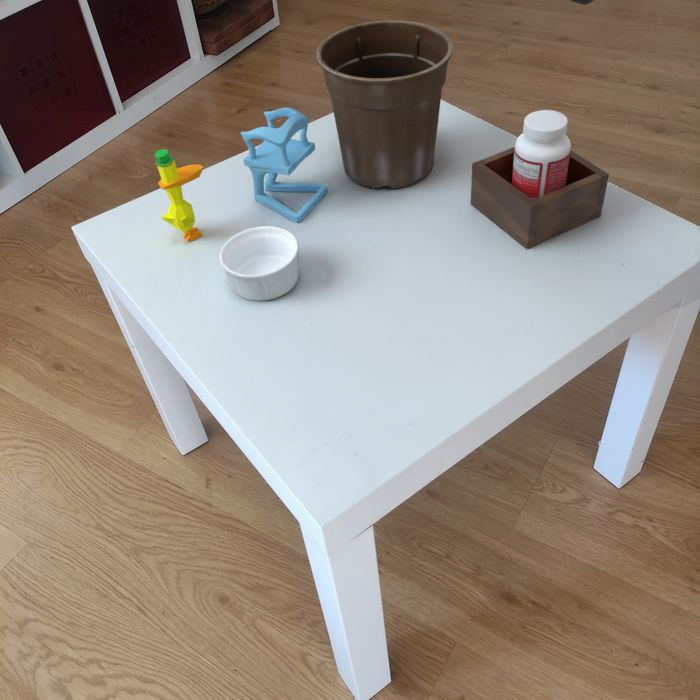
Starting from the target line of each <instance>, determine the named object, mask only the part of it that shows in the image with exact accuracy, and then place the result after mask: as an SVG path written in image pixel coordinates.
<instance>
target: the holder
mask: <svg viewBox="0 0 700 700" xmlns="http://www.w3.org/2000/svg"><path fill="white" fill-rule="evenodd" d="M514 151H515V146H513V147H510V148H508V149H505V150H503V151H499V152H498V153H495V154H493V155H490V156H488V157H485V158H482V159H480V160H477V161H475V162H472V163H471V182H470V183H471V186H470V205H471V206H472V207H473V208H475V209H476V210H477V211H478V212H480V213H481V215H484V216H485V217H486V218H487V219H488V220H490V221H491V222H492V223H493V224H494V225H495V226H497V227H498V228H499V229H501V230H502V231H504V233H505V234H507V235H508V236H509V237H511V238H512V239H513V240H514V241H515V242H516V243H518V244H519V245H520V246H522V248H524V249H526V250H528V249H530V248H533V247H535V246H538V245H539V244H542V243H544V242H546V241H548V240H551V239H553V238H555V237H558V236H559V235H562V234H565V233H567V232H568V231H571V230H573V229H575V228H578V227H579V226H582V225H584V224H586V223H589V222H590V221H593V220H595V219H598V218H601V216H602V211H603V208H604V207H603V206H604V201H605V197H606V191H607V188H608V187H607V186H608V182H609V177H610V173H608V172H606V171H605V170H603V169H602V168H600V167H598V166H597V165H595V164H593V162H591V161H589V160H587V159H586V158H585V157H582V156H581V155H580V154H578V153H576V152H575V151H573V150H571V149H570V157H569V164H568V171H567V178H566V185H565V187H563V188H560V189H558V190H556V191H553V192H551V193H549V194H546V195H544V196H541V197H539V198H537V199H534V200H532V199H531V198H529V197H528V196H526V195H525V194H524V193H522V192H521V191H520V190H518V189H517V188H515V187H514V186H513V185H512V175H513V163H514Z"/></svg>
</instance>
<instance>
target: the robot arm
mask: <svg viewBox="0 0 700 700" xmlns="http://www.w3.org/2000/svg"><path fill="white" fill-rule="evenodd" d="M570 1H571V2H573V3H577V4H580V5H583V6H586V5H588V4H590V3H593V2H594V1H595V0H570Z"/></svg>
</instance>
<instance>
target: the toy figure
mask: <svg viewBox="0 0 700 700" xmlns="http://www.w3.org/2000/svg"><path fill="white" fill-rule="evenodd" d="M154 158H155V160H156V161H155V166H157V170H158V172H159V176H160V180H159V181H158V182H157V184H158V186H159V187H160V189H161V190H162V191H165V192H166V194H167V197H168V199H169V200H170V204H169V206H168V208H167V213H166V214H163V215H162V216H159V217H160V219H162V220H163V221H165V222H167V223H168V224H169V225H171V226H172V227H174V228H175V229H177V230H178V231H181V232H183V234H182V237H183V238H184V239H185V240H186V241H187V242H188V243H189V242H191V241H195V240H198V239H199V238H201V237H202V236H203V232H202V231H201V230H200V229H199V228H198V227H197V226H194V224H195V222H196V217H195V212H194V209H193V205H192V203H189V202H188V201H187V200H185V199H184V196H183V189H182V186H184V185H186V184H188V183H190V182H193V181H194V180H195V181H196V179H199V178H200V176H201V174H202V173H203V170H204V166H203V165H201V164H194V163H193V164H188V165H184V166H181V167H177V165H176V160H175V157H174V156H173V155H172V154H169V151H168V149H165V148H162V149H159V150H157V151H156V152H155V153H154Z"/></svg>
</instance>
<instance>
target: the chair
mask: <svg viewBox="0 0 700 700" xmlns="http://www.w3.org/2000/svg"><path fill="white" fill-rule="evenodd" d="M263 114H264V117H265V118H266V121H267V126H259V127H256V128H254V129H251V130H248V131H241V132H240V136H241V137H242V140H243V141H244V143H245V144H246V146H247V149H248V155H246V156H245V158H244V159H243V164H244V167H247V168H248V169H249V170H250V172H251V175H252V182H253V192H254V201H257V202H260V203H261V204H263V205H265V206H266V207H268V208H269V209H271V210H274V211H275V212H277V213H278V214H280V215H281V216H283V217H285V218H286V219H288V220H290V221H292V222H294V223H301V222H302V221H303V220H304V219H305V217H306V216H308V215H309V213H310V212H311V211H312V210H313V209H314V208H315V207H316V206H317V205H318V204H319V203H320V201H321V200H322V199H323V198H324V197H325V196H326V195H327V193H328V191H329V187H328V184H326V183H321V182H317V183H316V182H287V181H286V182H285V181H284V182H283V181H276V180H277V178H278V175H283V176H287V177H289V176H290V175H292V173H294V171H296V169H297V168H298V167H299V165H300V164H301V163H302V162H303V161H304V160H305V159H306V158H308V157H309V156H311V155H312V153H314V151H315V150H316V143H315V142H313V141H312V142H311V141H309V140H308V137H307V131H308V126H309V117H308V116H306V115H305V114H303V113H302V112H300V111H299V110H297V109H295V108H291V107H281V108H278V109H274V110H271V111H264V112H263ZM281 117H284V118H285V117H286V118H288V119H286V121H285V122H284V123H283V124H282V125H281V126H280V127H277V128H275V124H274V120H275V119H278V118H281ZM298 132H300V134H299V135H300V136H299V139H293V137H294V135H296V134H297V133H298ZM251 140H262V141H263V142H261V143H260V145H259V146H257V147H255V145H254V143H253V142H252V141H251ZM265 175H267V176H266V178H265ZM265 191H269V192H282V193H283V192H286V193H289V192H290V193H291V192H292V193H293V192H296V193H297V192H298V193H300V192H302V193H303V192H306V193H307V192H308V193H310V192H311V193H312V192H313V193H314V195H312V197H311V198H310V199H309V200H308V201H307V202H306V203H305V204H304V205H303V206H302V207H301V208H300V210H298V211H297V212H295V211H293V210H292V209H290V208H289V207H287V206H286V205H284V204H282V202H280V201H279V200H277V199H275V198H274V197H272V196H271V195H269V194H267V193H265ZM315 192H316V193H315Z"/></svg>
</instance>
